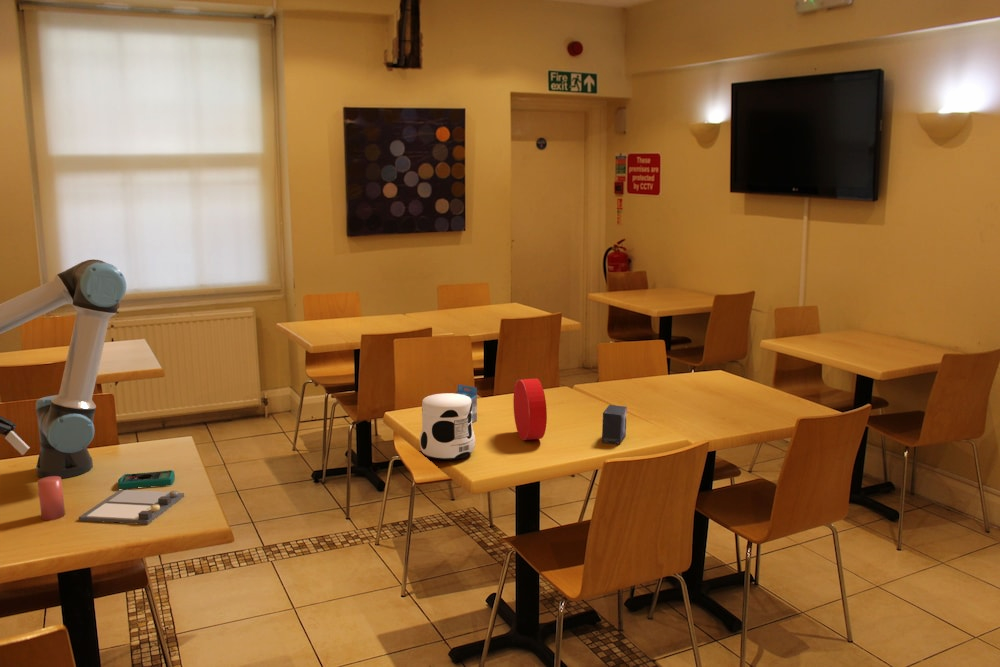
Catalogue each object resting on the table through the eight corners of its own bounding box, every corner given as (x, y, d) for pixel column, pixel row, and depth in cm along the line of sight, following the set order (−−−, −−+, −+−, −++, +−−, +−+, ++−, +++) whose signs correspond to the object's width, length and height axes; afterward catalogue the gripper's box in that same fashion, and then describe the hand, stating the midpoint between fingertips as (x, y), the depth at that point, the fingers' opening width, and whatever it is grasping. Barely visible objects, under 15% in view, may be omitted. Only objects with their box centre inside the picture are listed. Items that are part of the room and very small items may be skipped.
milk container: (428, 444, 284) (427, 391, 280) (480, 447, 281) (480, 393, 277) (413, 462, 267) (411, 405, 264) (467, 466, 264) (467, 408, 260)
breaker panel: (119, 493, 243) (119, 484, 243) (184, 496, 241) (183, 487, 240) (78, 520, 225) (77, 511, 224) (148, 524, 222) (147, 515, 222)
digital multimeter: (121, 482, 252) (120, 473, 252) (175, 478, 256) (174, 468, 255) (116, 492, 245) (115, 482, 245) (172, 487, 249) (171, 477, 248)
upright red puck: (546, 446, 281) (547, 386, 277) (529, 448, 280) (529, 388, 276) (529, 428, 300) (530, 372, 296) (513, 429, 299) (513, 373, 295)
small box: (620, 445, 282) (621, 414, 280) (601, 443, 285) (601, 412, 282) (627, 435, 292) (627, 405, 290) (607, 434, 294) (608, 404, 292)
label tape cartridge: (451, 419, 311) (450, 386, 308) (457, 417, 314) (457, 383, 312) (471, 423, 306) (470, 390, 303) (477, 421, 309) (477, 387, 307)
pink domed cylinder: (50, 511, 231) (46, 475, 229) (69, 512, 230) (65, 476, 228) (36, 519, 225) (32, 483, 223) (56, 520, 225) (52, 484, 223)
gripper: (-25, 398, 238) (31, 453, 239) (-98, 425, 214) (-35, 486, 215) (-9, 380, 236) (47, 435, 237) (-81, 405, 212) (-18, 467, 213)
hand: (8, 460), depth 226 cm, fingers open, 13 cm apart
